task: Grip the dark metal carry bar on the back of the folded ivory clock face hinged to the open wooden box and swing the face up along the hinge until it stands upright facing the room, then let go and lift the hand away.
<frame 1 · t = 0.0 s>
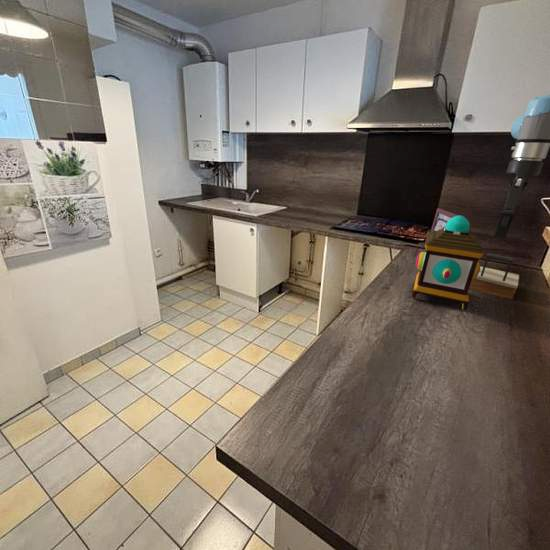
hand: (501, 233, 90), 27 cm above the worktop, tool pointing down, fingers open, 13 cm apart
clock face: (497, 265, 112), point 10 cm above the worktop, hinge at 0.0°
open wooden box: (489, 287, 117), on the worktop
picture frame: (441, 264, 141), on the worktop
decorative lantern: (437, 295, 109), on the worktop
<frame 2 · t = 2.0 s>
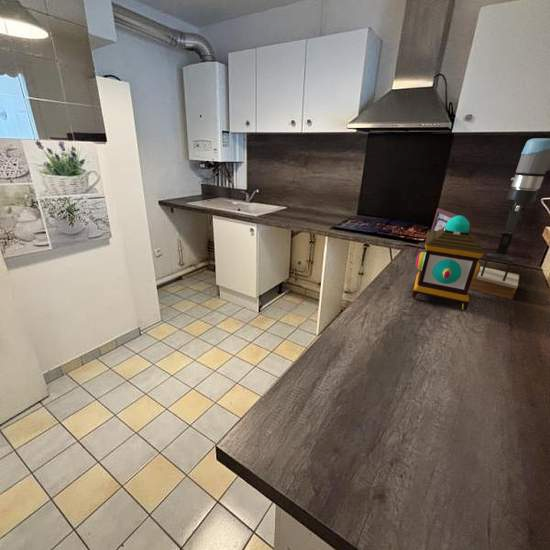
hand: (502, 249, 106), 17 cm above the worktop, tool pointing down, fingers open, 13 cm apart
nothing on the worktop moved.
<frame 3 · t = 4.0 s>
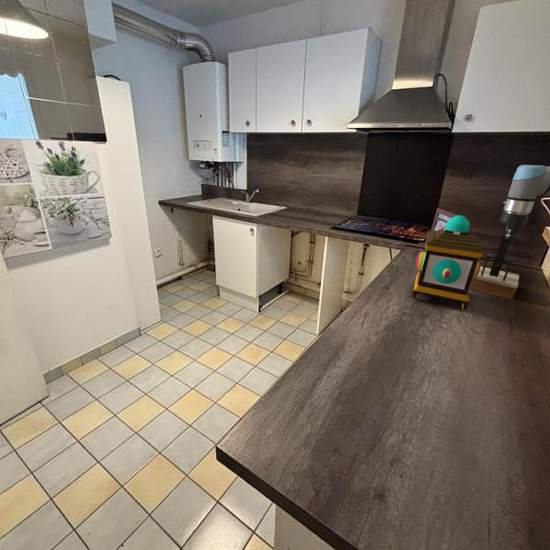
hand: (493, 274, 110), 7 cm above the worktop, tool pointing down, fingers closed on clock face, 2 cm apart
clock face: (497, 265, 112), point 10 cm above the worktop, hinge at 0.0°, touching gripper
everything else where it was.
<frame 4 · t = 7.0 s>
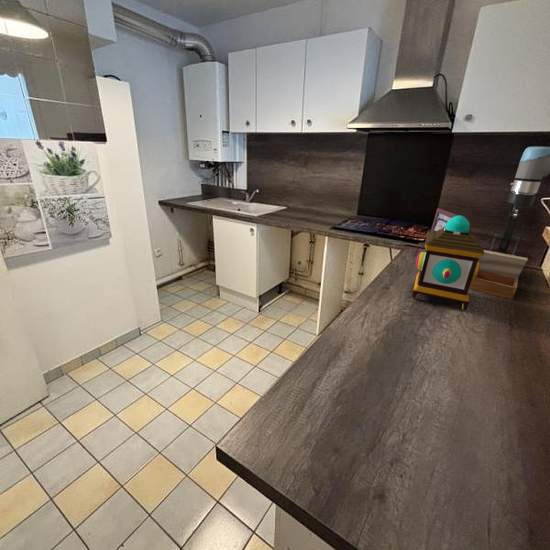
hand: (500, 254, 114), 13 cm above the worktop, tool pointing down, fingers closed on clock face, 2 cm apart
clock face: (501, 253, 114), point 14 cm above the worktop, hinge at 42.8°, touching gripper
everything else where it was.
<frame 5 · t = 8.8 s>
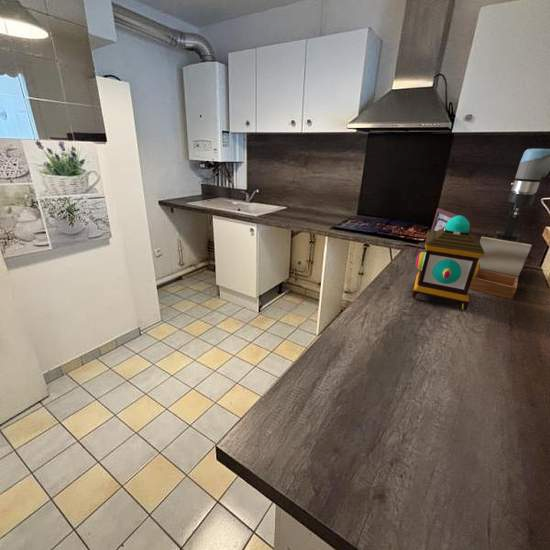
hand: (501, 251, 119), 13 cm above the worktop, tool pointing down, fingers closed on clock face, 2 cm apart
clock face: (502, 250, 117), point 14 cm above the worktop, hinge at 71.2°, touching gripper
everything else where it was.
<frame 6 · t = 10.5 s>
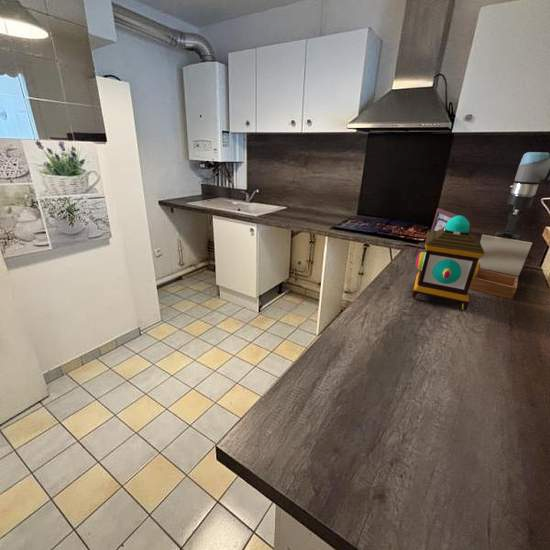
hand: (503, 247, 121), 14 cm above the worktop, tool pointing down, fingers open, 13 cm apart
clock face: (502, 250, 118), point 13 cm above the worktop, hinge at 78.7°, touching gripper
everything else where it was.
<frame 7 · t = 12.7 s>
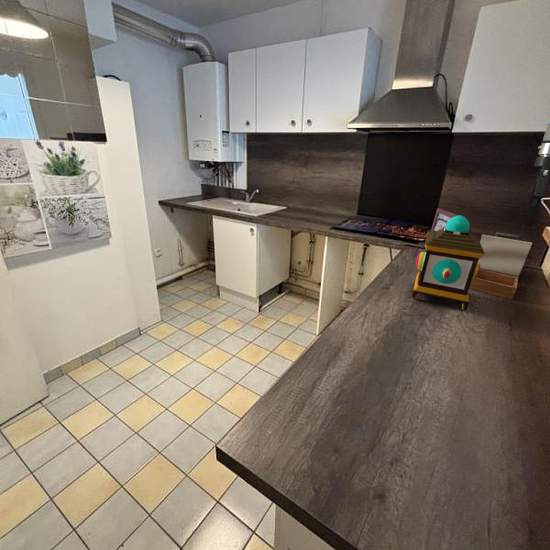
hand: (529, 213, 116), 28 cm above the worktop, tool pointing down, fingers open, 13 cm apart
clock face: (502, 250, 118), point 13 cm above the worktop, hinge at 78.6°
everything else where it was.
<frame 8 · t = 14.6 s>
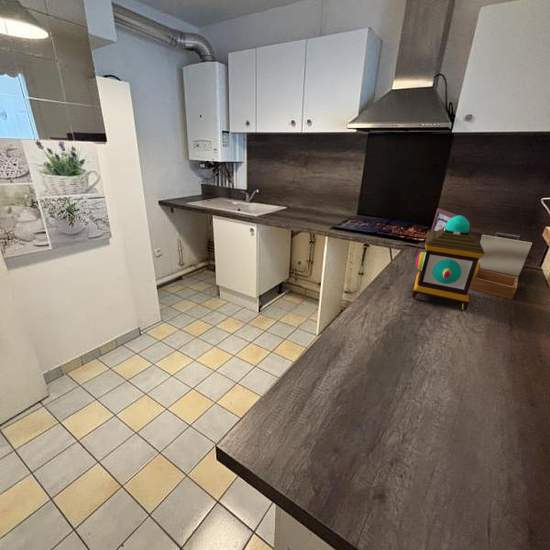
nothing on the worktop moved.
at the end: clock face at +79° (first picture: +0°); the gripper is holding nothing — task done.
